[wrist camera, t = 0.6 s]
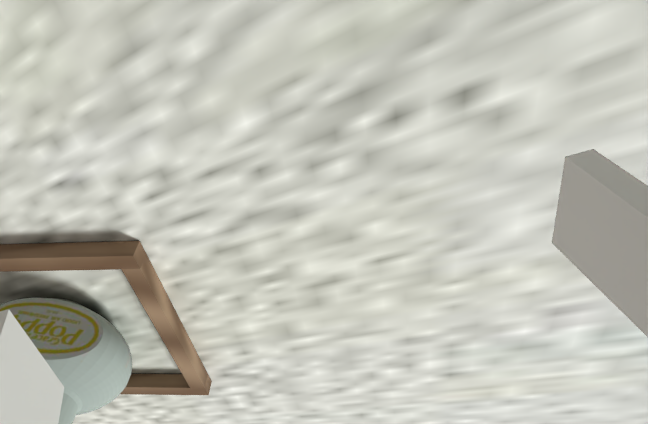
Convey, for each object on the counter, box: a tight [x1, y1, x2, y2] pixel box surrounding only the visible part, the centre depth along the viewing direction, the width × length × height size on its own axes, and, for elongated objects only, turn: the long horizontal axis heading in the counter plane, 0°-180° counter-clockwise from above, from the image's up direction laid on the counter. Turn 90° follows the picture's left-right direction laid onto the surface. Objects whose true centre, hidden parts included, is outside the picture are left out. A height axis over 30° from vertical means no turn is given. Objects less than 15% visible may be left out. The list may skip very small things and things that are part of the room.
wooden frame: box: [0, 241, 212, 395], centre depth 39 cm, size 17×17×1 cm
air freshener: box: [0, 298, 132, 424], centre depth 35 cm, size 11×8×10 cm
